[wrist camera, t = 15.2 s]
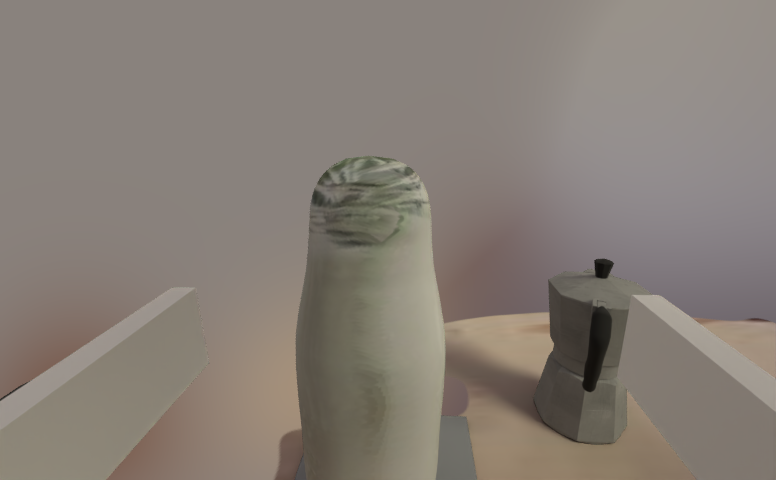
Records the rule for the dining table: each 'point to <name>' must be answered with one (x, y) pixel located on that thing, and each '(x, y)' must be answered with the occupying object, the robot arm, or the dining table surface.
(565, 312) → the coffeepot
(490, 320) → the dining table surface
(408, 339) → the grey green rounded cylinder
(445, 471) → the mat
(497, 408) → the dining table surface
